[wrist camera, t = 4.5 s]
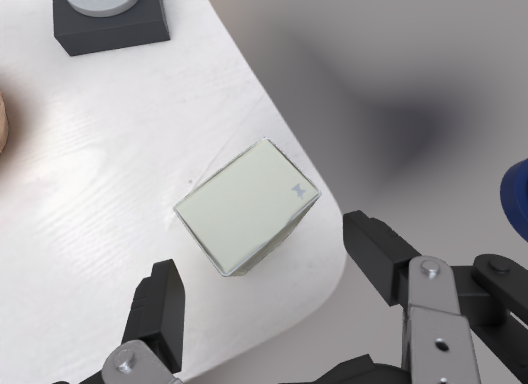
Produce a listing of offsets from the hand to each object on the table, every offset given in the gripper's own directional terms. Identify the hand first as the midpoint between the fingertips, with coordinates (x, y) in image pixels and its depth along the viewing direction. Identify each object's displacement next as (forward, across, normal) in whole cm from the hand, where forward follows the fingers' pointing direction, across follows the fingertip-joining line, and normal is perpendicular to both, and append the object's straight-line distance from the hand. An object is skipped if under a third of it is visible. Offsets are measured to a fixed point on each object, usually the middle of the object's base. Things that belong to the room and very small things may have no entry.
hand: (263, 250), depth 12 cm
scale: (+31, +9, -15) cm, 36 cm away
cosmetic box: (+10, 0, +7) cm, 12 cm away
